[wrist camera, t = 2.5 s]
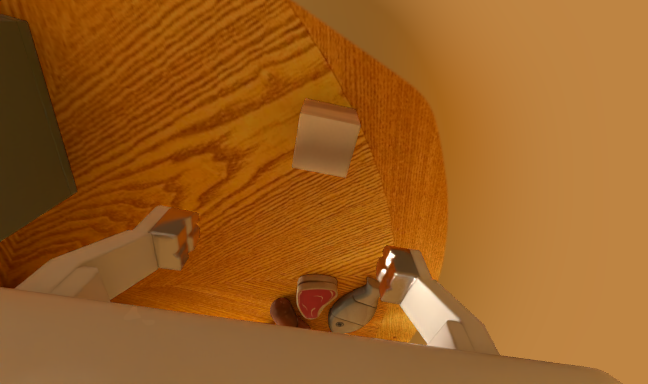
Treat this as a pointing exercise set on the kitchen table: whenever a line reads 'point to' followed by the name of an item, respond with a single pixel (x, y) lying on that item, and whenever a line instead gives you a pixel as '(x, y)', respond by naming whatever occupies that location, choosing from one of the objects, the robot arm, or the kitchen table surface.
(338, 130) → the block
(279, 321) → the toy food set
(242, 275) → the kitchen table surface
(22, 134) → the box
